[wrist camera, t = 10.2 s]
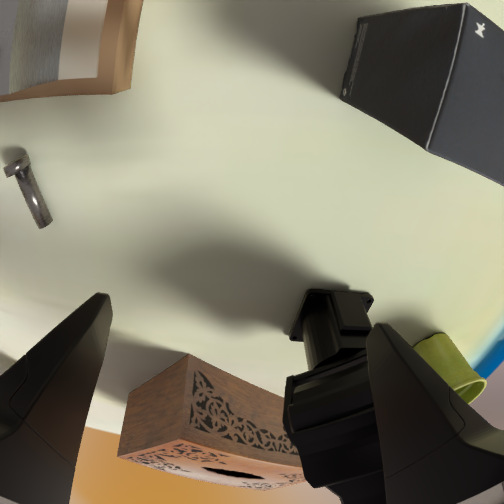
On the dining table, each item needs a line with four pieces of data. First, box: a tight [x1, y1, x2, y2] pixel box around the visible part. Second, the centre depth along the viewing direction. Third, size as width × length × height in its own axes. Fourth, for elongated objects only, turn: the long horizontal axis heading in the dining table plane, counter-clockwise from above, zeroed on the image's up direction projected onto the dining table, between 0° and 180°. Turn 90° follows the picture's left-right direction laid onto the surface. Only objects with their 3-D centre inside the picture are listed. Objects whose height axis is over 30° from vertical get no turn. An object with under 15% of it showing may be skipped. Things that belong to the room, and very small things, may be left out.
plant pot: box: [413, 333, 487, 404], centre depth 29 cm, size 9×9×9 cm
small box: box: [340, 3, 504, 186], centre depth 12 cm, size 11×6×10 cm, turn 79°
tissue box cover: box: [117, 354, 307, 491], centre depth 35 cm, size 26×14×10 cm, turn 45°
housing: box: [0, 0, 69, 95], centre depth 8 cm, size 5×8×5 cm, turn 169°
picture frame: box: [0, 0, 143, 102], centre depth 11 cm, size 10×12×3 cm
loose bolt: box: [3, 154, 53, 229], centre depth 18 cm, size 6×2×2 cm, turn 10°
